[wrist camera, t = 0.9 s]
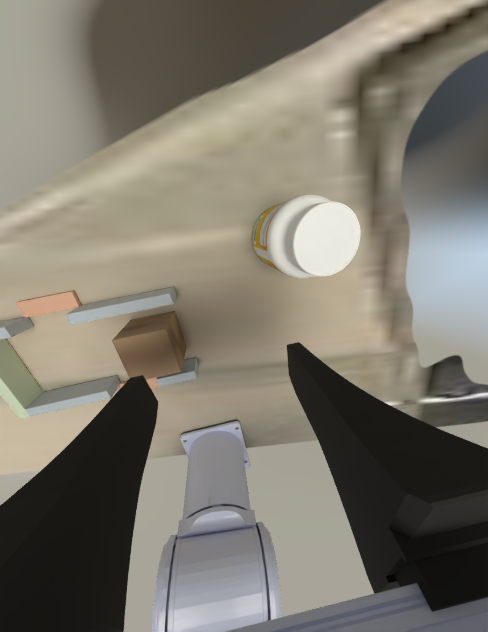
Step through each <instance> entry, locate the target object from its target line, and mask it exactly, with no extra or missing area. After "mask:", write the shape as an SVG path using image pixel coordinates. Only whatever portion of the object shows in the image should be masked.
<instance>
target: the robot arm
mask: <svg viewBox="0 0 488 632" xmlns="http://www.w3.org/2000/svg"><path fill="white" fill-rule="evenodd" d="M287 353H288V368H289V376H290V379H291V382H292V385H293V387H294V390H295V393H296V395H297V397H298V399H299V401H300V403H301V405H302V407H303V409H304V411H305V413H306V416H307V418H308V420H309V422H310V424H311V426H312V428H313V430H314V432H315V434H316V436H317V438H318V440H319V443H320V445H321V447H322V450H323V453H324V455H325V458H326V460H327V463H328V466H329V468H330V471H331V474H332V476H333V479H334V482H335V485H336V487H337V490H338V493H339V495H340V498H341V501H342V504H343V507H344V509H345V512H346V515H347V518H348V520H349V523H350V526H351V529H352V532H353V535H354V538H355V541H356V544H357V547H358V550H359V552H360V555H361V558H362V561H363V564H364V567H365V570H366V573H367V576H368V579H369V581H370V584H371V586H372V589H373V591H374V593H375V594H372V595H368V596H364V597H360V598H356V599H352V600H348V601H345V602H340V603H336V604H332V605H328V606H324V607H320V608H316V609H312V610H308V611H305V612H301V613H297V614H293V615H289V616H285V617H281V594H280V584H279V575H278V569H277V562H276V557H275V551H274V547H273V543H272V539H271V536H270V533H269V531H268V529H267V528H266V527H265V526H264V524H263V523H262V522H258V523H256V520H255V514H254V510H250V502H249V496H248V487H247V481H246V474H245V468H248V467H249V466H250V463H249V459H248V455H247V451H246V447H245V443H244V439H243V435H242V431H241V427H240V423H239V422H238V421H233V422H229V423H225V424H221V425H217V426H213V427H209V428H205V429H201V430H197V431H193V432H188V433H184V434H182V435H181V437H180V440H181V442H182V444H183V447H184V449H185V451H186V454H187V456H188V459H189V463H188V472H187V482H186V491H185V501H184V510H183V520H180V521H179V527H178V535H171V537H170V538H169V540H168V542H167V543H166V544H165V545H164V548H163V551H162V554H161V559H160V563H159V568H158V574H157V580H156V588H155V596H154V604H153V616H152V632H488V448H485V447H482V446H480V445H477V444H475V443H472V442H470V441H467V440H465V439H462V438H460V437H457V436H455V435H452V434H450V433H447V432H445V431H442V430H440V429H438V428H436V427H433V426H431V425H429V424H427V423H424V422H422V421H420V420H418V419H416V418H414V417H412V416H409V415H407V414H405V413H403V412H402V411H400V410H398V409H396V408H394V407H392V406H390V405H388V404H386V403H384V402H382V401H380V400H378V399H377V398H375V397H373V396H371V395H370V394H368V393H366V392H365V391H363V390H361V389H360V388H358V387H357V386H355V385H354V384H352V383H351V382H349V381H348V380H346V379H345V378H343V377H342V376H340V375H339V374H338V373H336V372H335V371H334V370H332V369H331V368H330V367H328V366H327V365H326V364H324V363H323V362H322V361H321V360H319V359H318V358H317V357H316V356H315V355H313V354H312V353H311V352H310V351H309V350H307V349H306V348H305V347H304V346H303V345H302V344H300V343H299V342H298V343H294V344H289V345H287ZM157 410H158V401H157V399H156V397H155V396H154V394H153V392H152V390H151V388H150V387H149V385H148V383H147V381H146V379H145V378H144V376H143V375H141V376H136V377H132V378H130V379H129V380H128V381H127V382H126V383H125V384H124V385H123V386H122V388H121V389H120V390H119V391H118V392H117V393H116V394H115V395H114V397H113V398H112V399H111V400H110V401H109V402H108V403H107V404H106V406H105V407H104V408H103V409H102V410H101V411H100V412H99V413H98V415H97V416H96V417H95V418H94V419H93V420H92V421H91V422H90V423H89V424H88V425H87V426H86V427H85V428H84V429H83V430H82V432H81V433H80V434H79V435H78V436H77V437H76V438H75V439H74V440H73V441H72V442H71V443H70V444H69V445H68V446H67V447H66V448H65V449H64V450H63V451H62V452H61V453H60V454H59V455H58V456H57V457H55V458H54V459H53V460H52V461H51V462H50V463H49V464H48V465H47V466H46V467H45V468H44V469H43V470H41V471H40V472H39V473H38V474H37V475H36V476H35V477H33V478H32V479H31V480H30V481H29V482H28V483H26V484H25V485H24V486H23V487H22V488H21V489H19V490H18V491H17V492H16V493H15V494H14V495H12V496H11V497H10V498H9V499H8V500H7V501H6V502H4V503H3V504H2V505H0V632H123V631H124V616H125V605H126V593H127V581H128V572H129V563H130V554H131V545H132V537H133V529H134V523H135V516H136V509H137V503H138V497H139V491H140V485H141V480H142V476H143V471H144V468H145V464H146V460H147V456H148V452H149V448H150V445H151V441H152V437H153V433H154V429H155V424H156V418H157Z"/></svg>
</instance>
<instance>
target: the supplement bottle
mask: <svg viewBox="0 0 488 632" xmlns="http://www.w3.org/2000/svg"><path fill="white" fill-rule="evenodd" d="M359 242H360V225H359V222H358V219H357V217H356V215H355V214H354V212H353V211H352V210H351V209H350V208H349V207H347V206H346V205H344V204H342V203H339V202H331V201H330V200H329V199H327V198H325V197H322V196H319V195H303V196H299V197H296V198H293V199H291V200H289V201H287V202H284V203H282V204H279V205H277V206H274V207H272V208H270V209H268V210H266V211H265V212H264V213H262V214H261V216H260V217H259V218H258V219H257V221H256V223H255V225H254V228H253V232H252V244H253V247H254V250H255V252H256V254H257V255H258V256H259V258H260V259H262V260H263V261H264V262H266V263H267V264H269V265H271V266H273V267H274V268H276V269H278V270H279V271H281V272H282V273H284V274H286V275H289V276H291V277H295V278H310V277H314V276H318V277H320V276H322V277H324V276H329V275H332V274H335V273H337V272H339V271H340V270H342V269H343V268H345V267H346V266H347V265H348V264H349V262H350V261H351V260H352V258H353V257H354V255H355V253H356V251H357V249H358V246H359Z"/></svg>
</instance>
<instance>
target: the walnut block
mask: <svg viewBox="0 0 488 632" xmlns="http://www.w3.org/2000/svg"><path fill="white" fill-rule="evenodd" d="M112 342H113V344H114V346H115V348H116V350H117V352H118V354H119V357H120V359H121V361H122V363H123V365H124V367H125V369H126V371H127V373H128V376H129V378H132V377H136V376H141V375H143V376H144V378H145V379H146V380H147V379H151V378H156V377H160V376H165V375H169V374H174V373H178V372H181V369H182V364H183V360H184V356H185V351H186V345H185V342H184V339H183V336H182V333H181V330H180V327H179V324H178V321H177V318H176V314H175V311H173V312H168V313H163V314H158V315H153V316H149V317H144V318H139V319H134V320H130V322H129V323H128V324H127V325H126V326H125V327H124V328H123V329H122V330H121V331H120V332H119V333H118V334H117V336H116V337H115V338H114V339H113V340H112Z"/></svg>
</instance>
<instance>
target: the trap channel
mask: <svg viewBox="0 0 488 632" xmlns="http://www.w3.org/2000/svg"><path fill="white" fill-rule="evenodd" d="M176 298H177V294H176V290H175V287H170V288H165V289H160V290H155V291H150V292H145V293H141V294H136V295H131V296H126V297H121V298H116V299H111V300H106V301H101V302H96V303H91V304H86V305H81V303H80V301H79V299H78V297H77V295H76V293H75V291H70V292H65V293H60V294H54V295H49V296H44V297H39V298H34V299H29V300H24V301H19V302H16V305H17V307H18V308H19V310H20V311H21V313H22V314H23V316H24V317H21V318H17V319H12V320H7V321H2V322H0V395H1V396H2V397H3V398H4V400H5V401H6V402H7V403H8V405H9V406H10V407H11V408H12V410H13V411H14V412H15V413H16V415H17V416H18V417H19V418H20V419H23V418H27V417H32V416H36V415H40V414H45V413H49V412H53V411H58V410H62V409H66V408H71V407H75V406H80V405H84V404H88V403H93V402H97V401H101V400H106V399H110V398H111V397H112V396H113V394H114V392H115V391H116V389H117V387H118V386H120V387H121V388H122V386H123V385H124V384H125V383H126V382H127V381H125V382H120V380H119V378H118V376H112V377H108V378H103V379H99V380H94V381H90V382H85V383H81V384H76V385H72V386H67V387H63V388H59V389H54V390H50V391H45V392H43V391H42V389H41V388H40V386H39V385H38V384H37V382H36V381H35V379H34V378H33V376H32V375H31V374H30V372H29V371H28V369H27V368H26V366H25V365H24V364H23V362H22V361H21V359H20V358H19V356H18V355H17V354H16V352H15V351H14V349H13V348H12V346H11V345H10V344H9V342H8V341H7V339H6V338H11V337H13V336H15V335H17V334H19V333H21V332H22V331H24V330H26V329H28V328H30V327H32V326H34V325H33V323H32V322H31V320H30V319H29V317H31V316H36V315H41V314H46V313H51V312H56V311H61V310H66V309H70V308H75V307H78V308H76V309H74V310H73V311H71V312H69V313H67V314H66V317H67V319H68V321H69V323H70V324H71V325H74V324H79V323H83V322H88V321H93V320H98V319H103V318H108V317H112V316H117V315H122V314H127V313H132V312H137V311H142V310H146V309H151V308H156V307H161V306H166V305H171V304H173V303H174V301H175V299H176ZM197 375H198V361H197V358H193V359H188V360H184V361H183V364H182V369H181V372H178V373H174V374H169V375H165V376H160V377H156V378H151V379H147V380H146V381H147V383H148V385H149V387H150V388H151V389H152V388H157V387H162V386H167V385H171V384H175V383H180V382H184V381H188V380H193V379H197Z"/></svg>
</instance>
